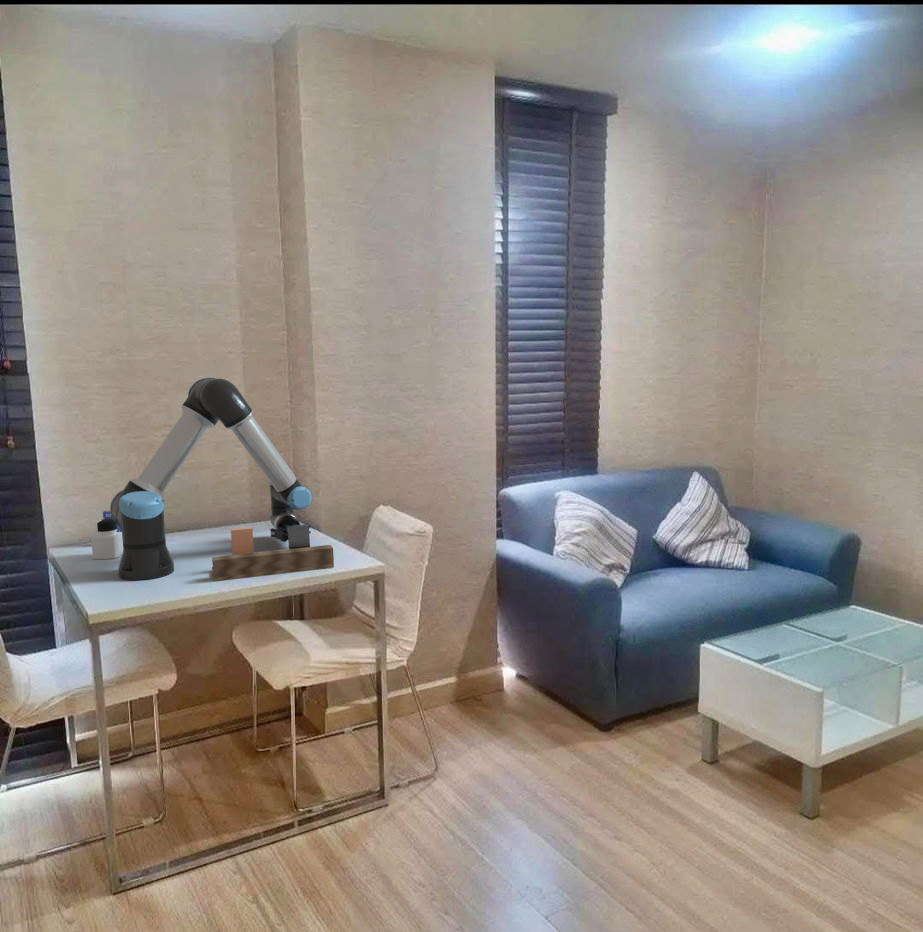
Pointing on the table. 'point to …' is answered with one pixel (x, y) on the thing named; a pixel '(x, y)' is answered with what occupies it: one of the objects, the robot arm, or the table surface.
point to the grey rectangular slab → (298, 536)
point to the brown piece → (272, 562)
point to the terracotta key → (242, 541)
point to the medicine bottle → (106, 540)
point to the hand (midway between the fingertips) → (298, 542)
